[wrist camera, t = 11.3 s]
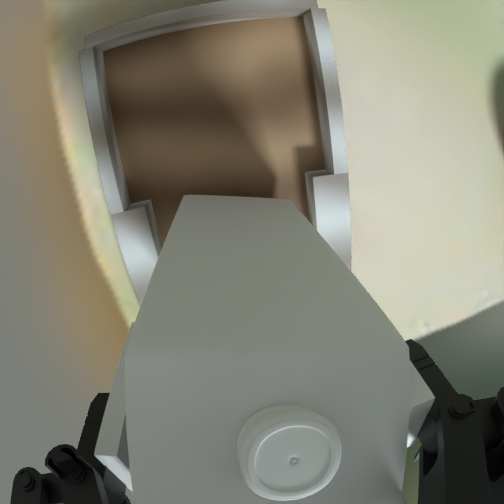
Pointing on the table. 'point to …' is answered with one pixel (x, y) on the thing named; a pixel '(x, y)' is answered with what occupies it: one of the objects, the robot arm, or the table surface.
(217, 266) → the milk carton
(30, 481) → the robot arm
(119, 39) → the divided compartment tray
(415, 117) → the table surface
